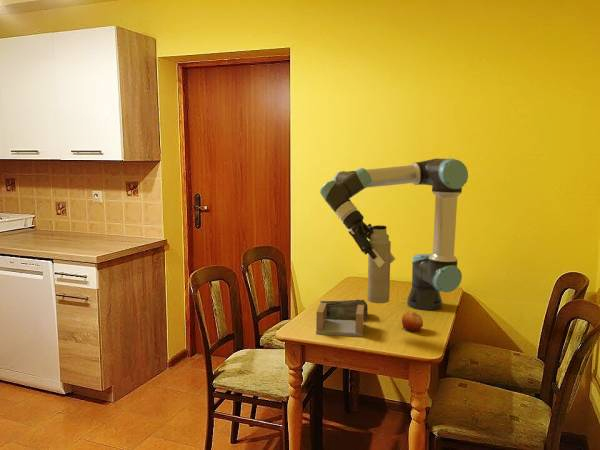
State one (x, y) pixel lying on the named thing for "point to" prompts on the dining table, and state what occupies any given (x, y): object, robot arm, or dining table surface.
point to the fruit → (412, 321)
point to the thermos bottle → (379, 275)
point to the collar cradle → (339, 323)
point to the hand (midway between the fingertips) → (387, 263)
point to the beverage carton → (344, 309)
